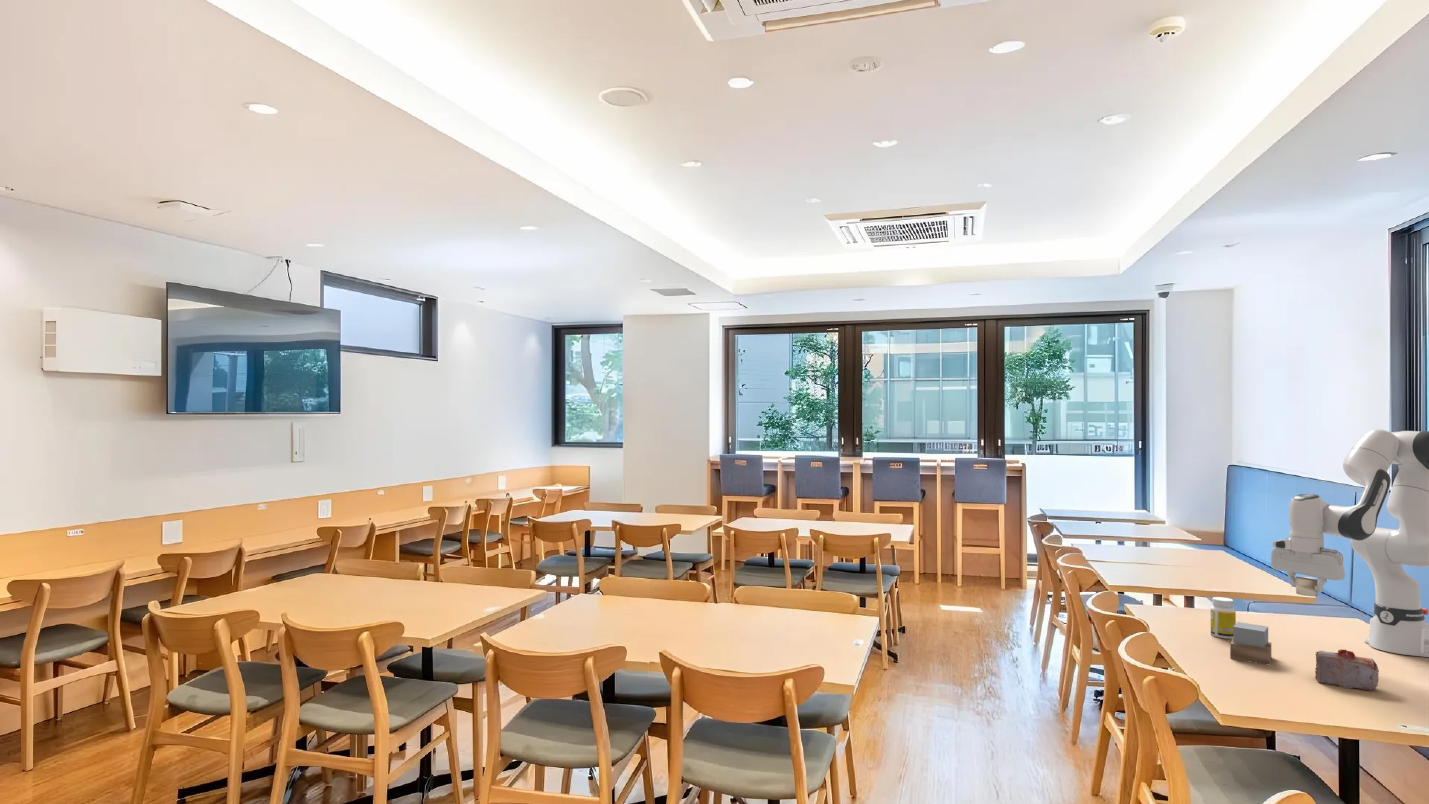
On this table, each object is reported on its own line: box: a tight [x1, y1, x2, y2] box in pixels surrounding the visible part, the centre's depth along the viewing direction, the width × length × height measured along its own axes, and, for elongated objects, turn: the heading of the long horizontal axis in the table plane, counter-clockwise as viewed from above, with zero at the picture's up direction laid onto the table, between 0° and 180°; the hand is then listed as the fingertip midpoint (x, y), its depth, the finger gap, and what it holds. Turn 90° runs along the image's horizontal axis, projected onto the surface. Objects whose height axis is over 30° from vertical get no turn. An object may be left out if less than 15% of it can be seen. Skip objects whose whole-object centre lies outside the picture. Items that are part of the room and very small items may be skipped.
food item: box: [1314, 649, 1380, 691], centre depth 219 cm, size 14×8×10 cm, turn 56°
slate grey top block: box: [1233, 621, 1269, 648], centre depth 243 cm, size 8×8×5 cm
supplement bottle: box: [1209, 596, 1237, 640], centre depth 267 cm, size 7×7×13 cm
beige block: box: [1295, 576, 1319, 597], centre depth 247 cm, size 6×6×5 cm
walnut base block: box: [1229, 638, 1272, 665], centre depth 243 cm, size 10×10×5 cm
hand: (1306, 589), depth 247 cm, fingers closed on beige block, 5 cm apart
